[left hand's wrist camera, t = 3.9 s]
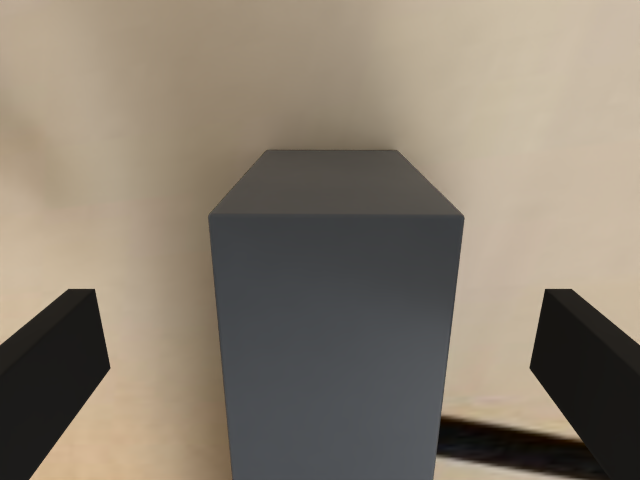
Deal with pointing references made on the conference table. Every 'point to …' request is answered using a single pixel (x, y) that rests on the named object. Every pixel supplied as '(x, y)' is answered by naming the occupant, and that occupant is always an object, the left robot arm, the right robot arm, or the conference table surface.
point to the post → (334, 315)
